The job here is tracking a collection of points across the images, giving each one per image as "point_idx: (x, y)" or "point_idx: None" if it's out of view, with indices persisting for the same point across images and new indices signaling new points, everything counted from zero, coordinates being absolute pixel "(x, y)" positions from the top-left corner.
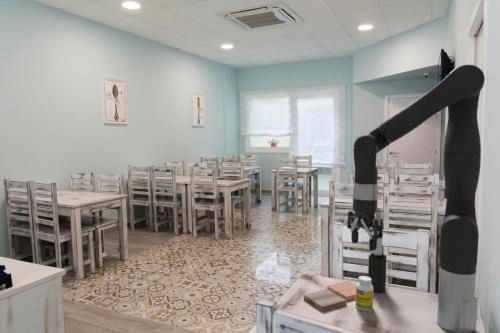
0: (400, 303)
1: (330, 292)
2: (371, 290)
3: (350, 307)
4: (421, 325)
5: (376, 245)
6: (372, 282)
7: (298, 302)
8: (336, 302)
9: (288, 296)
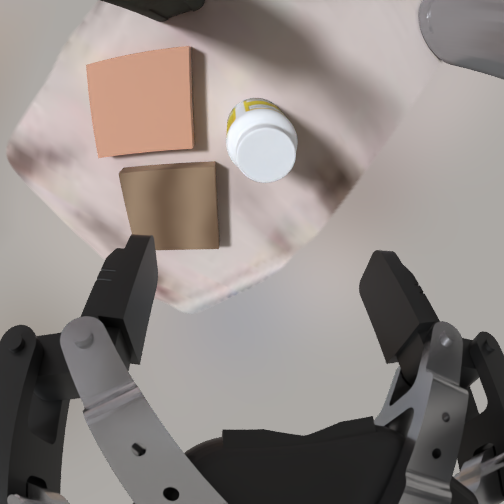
0: (299, 3)
1: (145, 177)
2: (297, 141)
3: None
4: (411, 83)
5: (419, 289)
6: (167, 10)
7: None
8: (213, 202)
9: None
